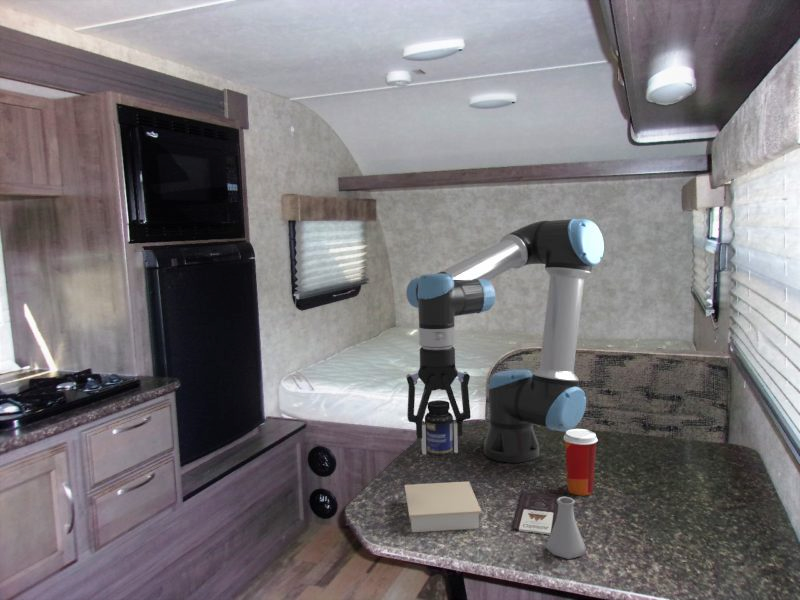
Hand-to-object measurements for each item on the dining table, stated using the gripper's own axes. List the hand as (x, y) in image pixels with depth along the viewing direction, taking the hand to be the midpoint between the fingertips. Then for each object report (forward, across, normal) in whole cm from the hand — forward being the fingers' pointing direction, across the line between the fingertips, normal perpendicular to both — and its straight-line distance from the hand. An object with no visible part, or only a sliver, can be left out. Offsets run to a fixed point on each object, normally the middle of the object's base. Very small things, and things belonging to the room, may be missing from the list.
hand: (439, 451), depth 129 cm
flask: (+15, +22, -17) cm, 32 cm away
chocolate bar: (+15, +21, -2) cm, 26 cm away
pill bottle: (+1, 0, 0) cm, 1 cm away
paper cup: (+15, +34, +8) cm, 38 cm away
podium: (+15, 0, 0) cm, 15 cm away
